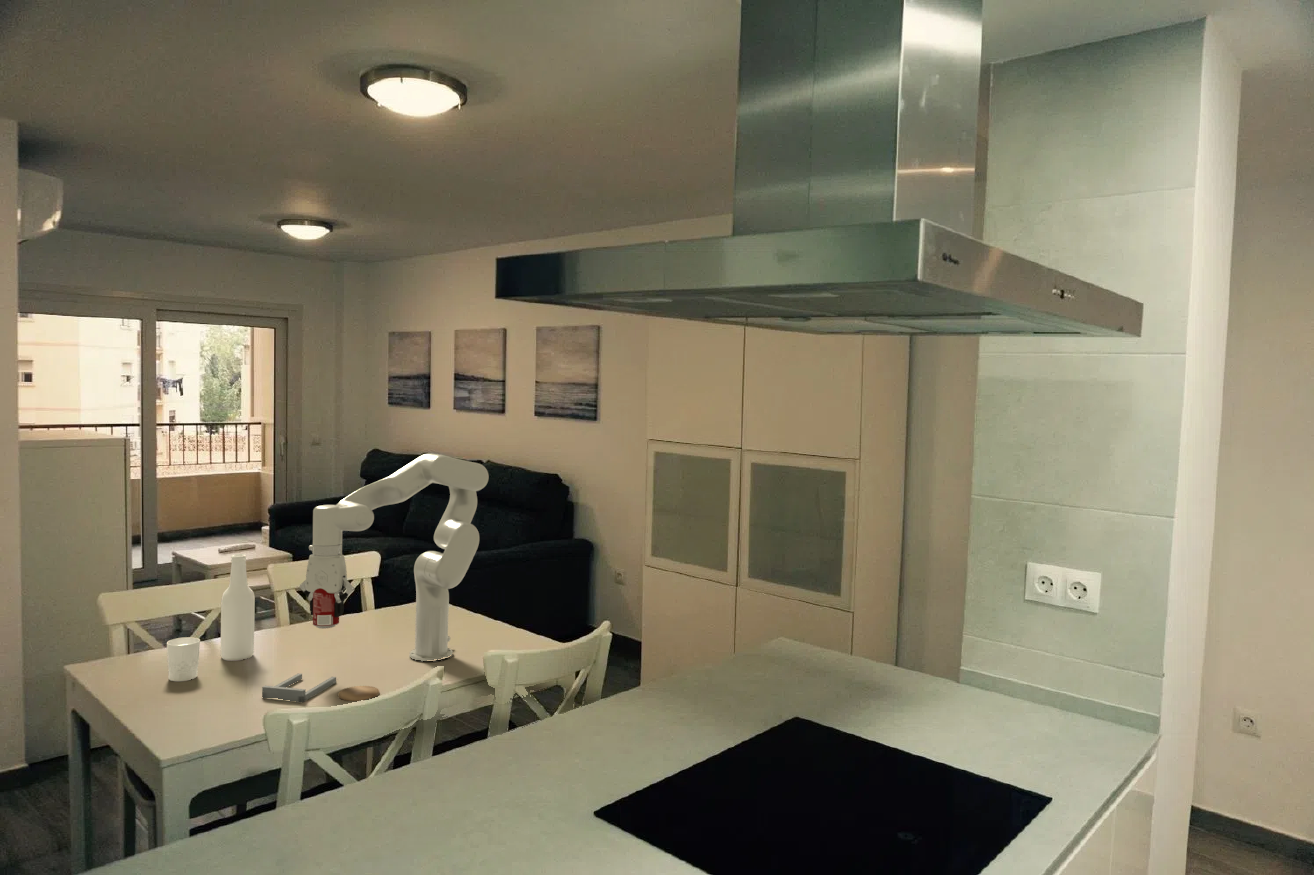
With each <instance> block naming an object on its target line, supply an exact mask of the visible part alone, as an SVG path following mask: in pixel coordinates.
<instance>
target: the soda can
mask: <svg viewBox="0 0 1314 875" xmlns="http://www.w3.org/2000/svg"><path fill="white" fill-rule="evenodd" d="M321 586H322V585H321ZM336 602H337V601H336V598H335V596H334V594H330V593H327V591H325V590H324V589H322V588H319V589H317V590H315V591H314V592H313V615H312V625H313V627H316V628H318V629H332V628H334V627H336V626H338V625H339V624H340V616H339V617H335V616H334V614H335V603H336Z"/></svg>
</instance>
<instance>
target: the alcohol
mask: <svg viewBox="0 0 1314 875" xmlns="http://www.w3.org/2000/svg"><path fill="white" fill-rule="evenodd" d="M230 558H231V560H230V562H231V564H230V565H231V566H230V574H229V584H228V587H227V588H226V589H225V590H224V591H223V593H222V596H221V601H220V603H221V604H220V657H221V658H222V660H224V661H228V662H235V661H239V662H240V661H244V660H243V659H245V660H247V658H248V659H250V658H251V657H253V655H254V653H255V607H256V606H255V602H256V601H255V600H256V599H255V598H256V597H255V592H254V591H253V590H252V588H251V587H250V586H249V584H248V576H247V572H248V571H247V555H246V554H241V553H240V554H232V555H231V556H230Z"/></svg>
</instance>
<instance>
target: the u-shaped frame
mask: <svg viewBox="0 0 1314 875" xmlns="http://www.w3.org/2000/svg"><path fill="white" fill-rule="evenodd" d="M300 679H302V680H303V673H297V674H294V675H293V676H290V677H289V678H288V679H286V680H284V681H281V682H279V683H277V684H276V685H263V686H262V687H261V698H262V697H263V698H278V699H283V700H290V701H289V702H291V701H296V702H295V703H301V702H302V703H304V702H306V701H308V700H309V699H311V698H312V697H315V696H316V695H318V694H319V693H321V692H323V691H324V690H326V689H328V688H329V687H331V686H333V685H335V684H336V683H337V676H331V677H328V678H327V679H325V680H324V681H322V682H321V683H319V684H316V685H315V686H313V687H312V688H309V689H308V690H307V691H306V689H303V688H294V687H290V686H289V685H291V684H293V683H294V684H296V683H298V682H300V681H301V680H300ZM299 680H300V681H299ZM297 681H298V682H297ZM295 682H296V683H295ZM294 684H293V685H294ZM287 686H289V687H287ZM291 686H292V685H291ZM286 687H287V688H286Z"/></svg>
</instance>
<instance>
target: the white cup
mask: <svg viewBox="0 0 1314 875" xmlns="http://www.w3.org/2000/svg"><path fill="white" fill-rule="evenodd" d="M200 646H201V639H200V638H197V637H191V636H188V637H187V636H185V637H178V638H173V639H170V640H168V641H167V642H166V656H167V660H166V662H167V670H168V672H167V673H168V680H169V681H171V682H187V681H191V679H192V680H194V679H196V678H197V677H198V670H199V659H200Z"/></svg>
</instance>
